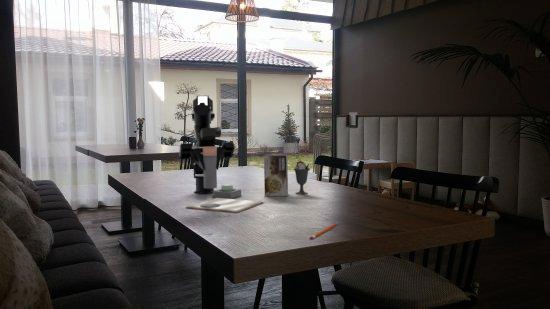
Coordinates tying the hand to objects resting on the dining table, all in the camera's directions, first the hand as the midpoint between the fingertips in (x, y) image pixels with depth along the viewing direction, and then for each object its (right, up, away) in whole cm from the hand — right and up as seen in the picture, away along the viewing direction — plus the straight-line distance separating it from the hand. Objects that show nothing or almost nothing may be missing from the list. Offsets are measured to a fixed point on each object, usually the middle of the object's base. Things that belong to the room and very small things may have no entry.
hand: (210, 169), depth 152 cm
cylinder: (0, -6, +2) cm, 7 cm away
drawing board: (+4, -13, +6) cm, 15 cm away
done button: (+3, -9, +24) cm, 26 cm away
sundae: (+32, -11, +30) cm, 45 cm away
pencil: (+35, -16, -31) cm, 49 cm away
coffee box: (+22, -11, +27) cm, 37 cm away
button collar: (+3, -11, +24) cm, 27 cm away
